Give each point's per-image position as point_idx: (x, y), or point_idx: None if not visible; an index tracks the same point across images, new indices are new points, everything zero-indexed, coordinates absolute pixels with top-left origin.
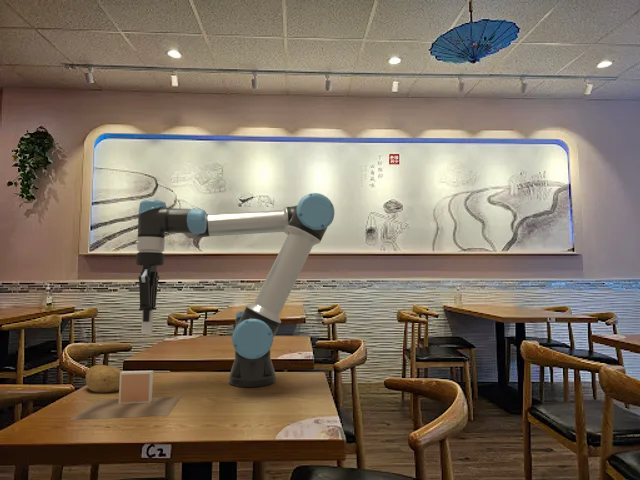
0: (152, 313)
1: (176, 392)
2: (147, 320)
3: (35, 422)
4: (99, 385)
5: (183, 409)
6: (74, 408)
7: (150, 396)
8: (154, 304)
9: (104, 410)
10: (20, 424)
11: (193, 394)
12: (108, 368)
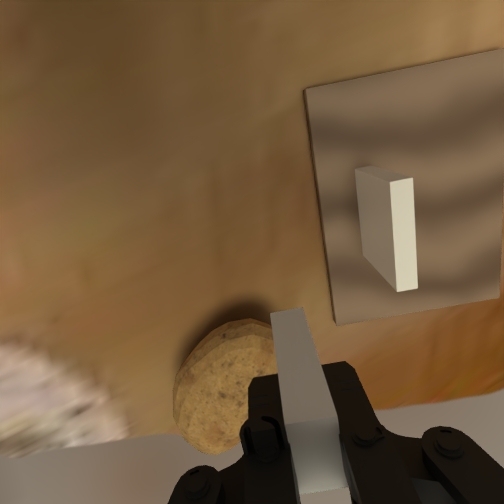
0: (305, 397)
1: (203, 152)
2: (352, 371)
3: (458, 370)
4: None
5: (393, 43)
6: (363, 353)
7: (378, 167)
8: (219, 492)
9: (435, 257)
10: (467, 389)
11: (222, 77)
12: (247, 393)
